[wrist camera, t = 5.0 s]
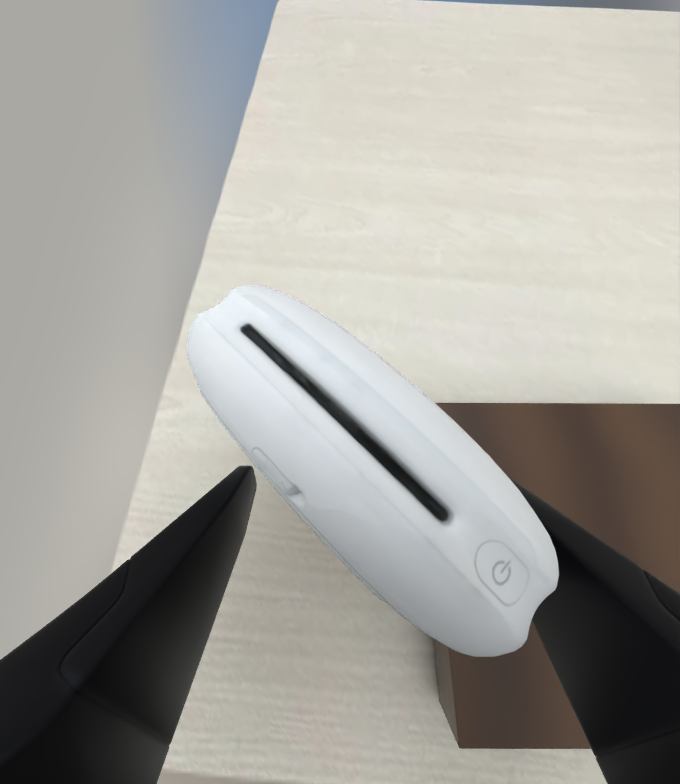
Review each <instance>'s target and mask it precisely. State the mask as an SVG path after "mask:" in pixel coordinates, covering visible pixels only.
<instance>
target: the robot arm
mask: <svg viewBox="0 0 680 784" xmlns="http://www.w3.org/2000/svg"><path fill="white" fill-rule="evenodd" d="M509 479H510V480H511V481H512V482H513V483H514V485H515V486H516V487H517V488H518V489H519V491H520V492H521V493H522V495H523V496H524V498H525V499H526V501H527V502H528V503H529V505H530V506H531V508H532V509H533V511H534V512H535V513H536V515H537V517H538V518H539V520H540V521H541V523H542V524H543V526H544V528H545V529H546V531H547V532H548V534H549V536H550V538H551V541H552V543H553V546H554V548H555V551H556V555H557V560H558V569H559V577H558V583H557V587H556V589H555V591H553V592H552V593H551V594H550V595H549V596H547V597H546V598H545V599H544V600H543V601H542V603H541V604H540V605H539V606H538V608H537V610H536V611H535V613H534V615H533V618H532V622H533V624H534V626H535V629H536V631H537V633H538V635H539V637H540V639H541V641H542V644H543V646H544V648H545V650H546V652H547V654H548V656H549V659H550V661H551V663H552V665H553V667H554V669H555V671H556V674H557V676H558V678H559V680H560V682H561V684H562V686H563V689H564V691H565V693H566V695H567V697H568V699H569V701H570V704H571V706H572V708H573V710H574V712H575V714H576V716H577V719H578V721H579V723H580V725H581V727H582V729H583V731H584V734H585V736H586V738H587V740H588V742H589V744H590V746H591V749H592V751H593V753H594V755H595V756H596V760H597V762H598V764H599V766H600V769H601V771H602V773H603V775H604V777H605V779H606V781H607V784H680V593H679V592H677V591H676V590H674V589H673V588H671V587H670V586H668V585H667V584H665V583H664V582H662V581H661V580H659V579H658V578H657V577H655V576H654V575H652V574H651V573H649V572H648V571H646V570H642V568H641V567H640V566H639V565H637V564H636V563H634V562H633V561H631V560H630V559H629V558H627V557H626V556H624V555H623V554H621V553H620V552H618V551H617V550H615V549H614V548H612V547H611V546H609V545H608V544H606V543H605V542H604V541H602V540H601V539H599V538H598V537H596V536H595V535H593V534H592V533H590V532H589V531H587V530H586V529H584V528H583V527H581V526H580V525H579V524H577V523H576V522H574V521H573V520H571V519H570V518H568V517H567V516H565V515H564V514H562V513H561V512H559V511H558V510H557V509H555V508H554V507H552V506H551V505H549V504H548V503H546V502H545V501H543V500H542V499H540V498H539V497H537V496H536V495H534V494H533V493H532V492H530V491H529V490H527V489H526V488H524V487H523V486H521V485H520V484H518V483H517V482H515V481H514V480H512V479H511V478H510V477H509ZM255 492H256V479H255V474H254V470H253V467H252V466H239V467H237V468H236V469H235V470H234V471H233V472H232V473H230V474H229V475H228V476H227V477H226V478H224V479H223V480H222V481H221V482H220V483H218V484H217V485H216V486H215V487H214V488H213V489H211V490H210V491H209V492H208V493H207V494H205V495H204V496H203V497H202V498H201V499H200V500H198V501H197V502H196V503H195V504H194V505H192V506H191V507H190V508H189V509H188V510H186V511H185V512H184V513H183V514H182V515H181V516H179V517H178V518H177V519H176V520H175V521H173V522H172V523H171V524H170V525H169V526H168V527H166V528H165V529H164V530H163V531H162V532H160V533H159V534H158V535H157V536H156V537H154V538H153V539H152V540H151V541H150V542H149V543H147V544H146V545H145V546H144V547H143V548H141V549H140V550H139V551H138V552H137V553H135V554H134V555H133V556H132V557H131V559H130V560H127V561H126V562H125V563H123V564H122V565H121V566H120V567H119V568H118V569H116V570H115V571H114V572H113V573H112V574H110V575H109V576H108V577H107V578H106V579H104V580H103V581H102V582H101V583H99V584H98V585H97V586H96V587H95V588H93V589H92V590H91V591H90V592H88V593H87V594H86V595H85V596H84V597H82V598H81V599H80V600H78V601H77V602H76V603H74V604H73V605H72V606H71V607H70V608H68V609H67V610H65V611H64V612H63V613H62V614H60V615H59V616H58V617H56V618H55V619H54V620H53V621H51V622H50V623H49V624H47V625H46V626H45V627H43V628H42V629H41V630H39V631H38V632H37V633H35V634H34V635H33V636H31V637H30V638H29V639H27V640H26V641H25V642H23V643H22V644H21V645H20V646H18V647H17V648H16V649H14V650H13V651H12V652H10V653H9V654H8V655H6V656H5V657H4V658H3V659H1V660H0V784H156V783H157V781H158V778H159V775H160V772H161V769H162V767H163V764H164V761H165V758H166V755H167V753H168V750H169V745H170V743H171V741H172V738H173V735H174V732H175V730H176V727H177V724H178V721H179V718H180V716H181V713H182V710H183V707H184V704H185V702H186V699H187V696H188V693H189V690H190V688H191V685H192V682H193V679H194V676H195V674H196V671H197V668H198V665H199V662H200V660H201V657H202V654H203V651H204V648H205V646H206V643H207V640H208V637H209V634H210V632H211V629H212V626H213V623H214V621H215V618H216V615H217V612H218V609H219V607H220V604H221V601H222V598H223V595H224V593H225V590H226V587H227V584H228V581H229V579H230V576H231V573H232V570H233V567H234V565H235V562H236V559H237V556H238V553H239V551H240V548H241V545H242V542H243V539H244V536H245V532H246V529H247V525H248V520H249V516H250V512H251V508H252V504H253V500H254V496H255Z"/></svg>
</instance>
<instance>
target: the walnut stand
mask: <svg viewBox="0 0 680 784" xmlns="http://www.w3.org/2000/svg"><path fill="white" fill-rule="evenodd" d="M435 404H436V405H437V406H439V407H440V408H441V409H442V410H443V411H444V412H445V413H446V414H447V415H448V416H449V417H451V418H452V419H453V420H454V421H455V422H456V423H457V424H458V425H459V426H460V427H461V428H462V429H463V430H464V431H465V432H466V433H467V434H468V435H469V436H470V437H471V438H472V439H473V440H474V441H475V442H476V443H477V444H478V445H479V446H480V447H481V448H482V449H483V450H484V451H485V452H486V453H487V454H488V455H489V456H490V457H491V458H492V459H493V461H494V462H495V463H496V464H497V465H498V466H499V467H500V468H501V470H502V471H503V472H504V473H505V474H506V475H507V476H508V477H510V478H511V479H512V480H514V481H515V482H517V483H518V484H520V485H521V486H523V487H524V488H526V489H527V490H529V491H530V492H532V493H533V494H534V495H536V496H537V497H539V498H540V499H542V500H543V501H545V502H546V503H548V504H549V505H551V506H552V507H554V508H555V509H557V510H558V511H559V512H561V513H562V514H564V515H565V516H567V517H568V518H570V519H571V520H573V521H574V522H576V523H577V524H579V525H580V526H581V527H583V528H584V529H586V530H587V531H589V532H590V533H592V534H593V535H595V536H596V537H598V538H599V539H601V540H602V541H604V542H605V543H606V544H608V545H609V546H611V547H612V548H614V549H615V550H617V551H618V552H620V553H621V554H623V555H624V556H626V557H627V558H629V559H630V560H631V561H633V562H634V563H636V564H637V565H639V566H640V567H641V568H642V570H646V571H648V572H649V573H651V574H652V575H654V576H655V577H657V578H658V579H659V580H661V581H662V582H664V583H665V584H667V585H668V586H670V587H671V588H673V589H674V590H676V591H677V592H679V593H680V404H572V403H435ZM434 649H435V660H436V671H437V683H438V694H439V702H440V704H441V706H442V709H443V711H444V713H445V716H446V718H447V720H448V723H449V725H450V727H451V730H452V732H453V734H454V737H455V739H456V741H457V744H458V746H459V748H490V749H591V746H590V744H589V742H588V740H587V738H586V736H585V734H584V731H583V729H582V727H581V725H580V723H579V721H578V719H577V716H576V714H575V712H574V710H573V708H572V706H571V704H570V701H569V699H568V697H567V695H566V693H565V691H564V689H563V686H562V684H561V682H560V680H559V678H558V676H557V674H556V671H555V669H554V667H553V665H552V663H551V661H550V659H549V656H548V654H547V652H546V650H545V648H544V646H543V644H542V641H541V639H540V637H539V635H538V633H537V631H536V629H535V626H534V624H533V622H532V620H531V623H530V627H529V632H528V637H527V640H526V641H525V643H524V644H523V645H522V647H520V648H519V649H517V650H516V651H514V652H510V653H506V654H503V655H499V656H496V657H474V656H470V655H466V654H463V653H460V652H457V651H455V650H453V649H451V648H450V647H448V646H446V645H445V644H443V643H441V642H439V641H438V640H436V639H434Z"/></svg>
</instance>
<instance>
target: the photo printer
mask: <svg viewBox="0 0 680 784" xmlns="http://www.w3.org/2000/svg"><path fill="white" fill-rule="evenodd" d="M187 356H188V360H189V363H190V366H191V368H192V371H193V374H194V377H195V379H196V381H197V383H198V385H199V388H200V391H201V394H202V396H203V397H204V399H205V400H206V402H207V404H208V405H209V406H210V408H211V409H212V411H213V412H214V413H215V415H216V416H217V417H218V419H219V420H220V422H221V423H222V424H223V426H224V427H225V428H226V430H227V431H228V432H229V434H230V435H231V436H232V437H233V439H234V440H235V441H236V442H237V444H238V445H239V446H240V448H241V449H242V450H243V451H244V452H245V454H246V455H247V456H248V457H249V459H250V460H251V461H252V462H253V463H254V465H255V466H256V467H257V468H258V469H259V471H260V472H261V473H262V474H263V475H264V477H265V478H266V479H267V480H268V481H269V482H270V483H271V485H272V486H273V487H274V488H275V489H276V490H277V491H278V493H279V494H280V495H281V496H282V497H283V498H284V499H285V501H286V502H287V503H288V504H289V505H290V506H291V507H292V509H293V510H294V511H295V512H296V513H297V514H298V515H299V516H300V518H301V519H302V520H303V521H304V522H305V523H306V524H307V525H308V526H309V527H310V528H311V529H312V531H313V532H314V533H315V534H316V535H317V536H318V537H319V538H320V539H321V540H322V542H323V543H324V544H325V545H326V546H327V547H328V548H329V549H330V550H331V551H332V552H333V553H334V554H335V555H336V556H337V557H338V558H339V559H340V560H341V561H342V562H343V563H344V564H345V565H346V566H347V567H348V568H349V569H350V570H351V571H352V572H353V573H354V574H355V575H356V576H357V577H358V578H359V579H360V580H361V581H362V582H363V583H364V584H365V585H366V586H367V587H368V588H369V589H370V590H371V591H372V592H373V593H374V594H375V595H376V596H377V597H378V598H379V599H381V600H383V601H385V602H386V603H388V604H389V605H390V606H391V607H392V608H393V609H394V610H395V611H397V612H398V613H399V614H400V615H401V616H403V617H404V618H405V619H407V620H408V621H409V622H411V623H412V624H413V625H415V626H416V627H417V628H419V629H420V630H422V631H423V632H425V633H426V634H427V635H429V636H431V637H433V638H434V639H436V640H438V641H439V642H441V643H443V644H445V645H446V646H448V647H450V648H451V649H453V650H455V651H457V652H460V653H463V654H466V655H470V656H474V657H496V656H499V655H503V654H506V653H510V652H514V651H516V650H517V649H519V648H520V647H522V645H523V644H524V643H525V641H526V640H527V637H528V632H529V627H530V623H531V620H532V618H533V615H534V613H535V611H536V610H537V608H538V606H539V605H540V604H541V603H542V601H543V600H544V599H545V598H546V597H547V596H549V595H550V594H551V593H552V592H553V591H555V589H556V587H557V583H558V577H559V569H558V560H557V555H556V551H555V548H554V546H553V543H552V541H551V538H550V536H549V534H548V532H547V531H546V529H545V528H544V526H543V524H542V523H541V521H540V520H539V518H538V517H537V515H536V513H535V512H534V511H533V509H532V508H531V506H530V505H529V503H528V502H527V501H526V499H525V498H524V496H523V495H522V493H521V492H520V491H519V489H518V488H517V487H516V486H515V485H514V483H513V482H512V481H511V480H510V479H509V477H508V476H507V475H506V474H505V473H504V472H503V471H502V470H501V468H500V467H499V466H498V465H497V464H496V463H495V462H494V461H493V459H492V458H491V457H490V456H489V455H488V454H487V453H486V452H485V451H484V450H483V449H482V448H481V447H480V446H479V445H478V444H477V443H476V442H475V441H474V440H473V439H472V438H471V437H470V436H469V435H468V434H467V433H466V432H465V431H464V430H463V429H462V428H461V427H460V426H459V425H458V424H457V423H456V422H455V421H454V420H453V419H452V418H451V417H449V416H448V415H447V414H446V413H445V412H444V411H443V410H442V409H441V408H440V407H439V406H437V405H436V404H435V403H434V402H433V401H432V400H431V399H430V398H429V397H427V396H426V395H425V394H424V393H423V392H422V391H421V390H420V389H419V388H417V387H416V386H415V385H414V384H413V383H411V382H410V381H409V380H408V379H407V378H406V377H405V376H403V375H402V374H401V373H400V372H399V371H398V370H396V369H395V368H394V367H393V366H391V365H390V364H389V363H388V362H386V361H385V360H384V359H383V358H382V357H380V356H379V355H378V354H377V353H376V352H374V351H373V350H372V349H370V348H369V347H368V346H366V345H365V344H364V343H362V342H361V341H360V340H358V339H357V338H356V337H355V336H353V335H352V334H351V333H349V332H348V331H347V330H345V329H344V328H342V327H341V326H340V325H338V324H337V323H336V322H334V321H333V320H331V319H330V318H328V317H327V316H325V315H324V314H322V313H320V312H319V311H317V310H316V309H314V308H312V307H311V306H309V305H307V304H306V303H304V302H302V301H300V300H298V299H296V298H294V297H292V296H290V295H287V294H285V293H282V292H280V291H277V290H274V289H271V288H268V287H264V286H259V285H245V286H239V287H236V288H233V289H232V290H231V291H230V293H229V294H228V295H227V296H226V298H225V299H224V300H223V301H222V302H221V303H219V304H218V305H217V306H215V307H213V308H211V309H209V310H207V311H204V312H201V313H199V314H198V315H197V317H196V318H195V320H194V322H193V323H192V326H191V329H190V332H189V336H188V340H187Z"/></svg>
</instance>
